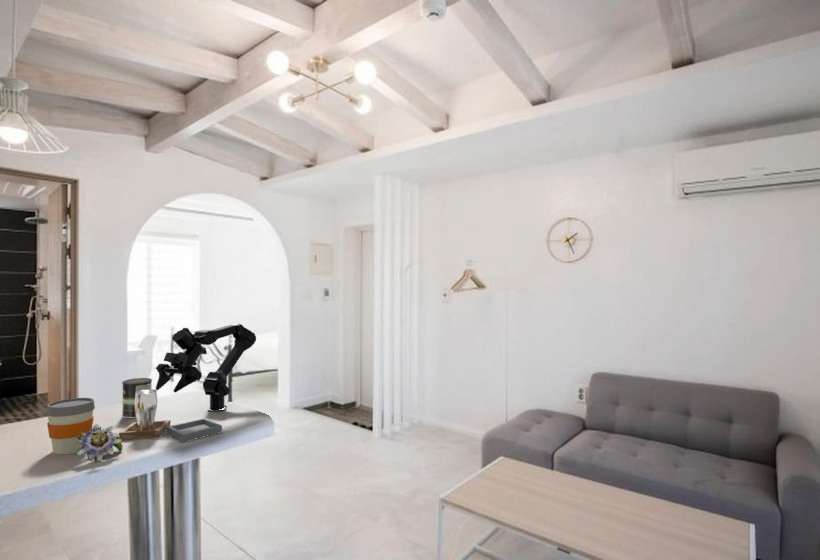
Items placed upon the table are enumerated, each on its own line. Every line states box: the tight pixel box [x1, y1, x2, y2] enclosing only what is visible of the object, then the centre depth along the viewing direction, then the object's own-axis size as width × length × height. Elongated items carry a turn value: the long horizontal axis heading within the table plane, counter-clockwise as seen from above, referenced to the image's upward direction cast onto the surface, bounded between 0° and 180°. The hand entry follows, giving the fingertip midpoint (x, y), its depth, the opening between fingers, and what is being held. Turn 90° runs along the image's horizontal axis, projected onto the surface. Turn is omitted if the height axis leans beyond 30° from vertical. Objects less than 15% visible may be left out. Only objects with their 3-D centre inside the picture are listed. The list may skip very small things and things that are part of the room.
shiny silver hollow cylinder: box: [135, 388, 158, 431], centre depth 161 cm, size 7×7×15 cm
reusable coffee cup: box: [45, 397, 96, 455], centre depth 146 cm, size 13×12×15 cm
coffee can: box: [121, 377, 153, 419], centre depth 183 cm, size 10×10×14 cm
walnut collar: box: [118, 419, 171, 441], centre depth 161 cm, size 12×12×2 cm
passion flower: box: [74, 423, 123, 463], centre depth 139 cm, size 11×11×12 cm
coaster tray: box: [166, 417, 223, 443], centre depth 161 cm, size 14×14×2 cm
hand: (165, 390), depth 168 cm, fingers open, 9 cm apart
